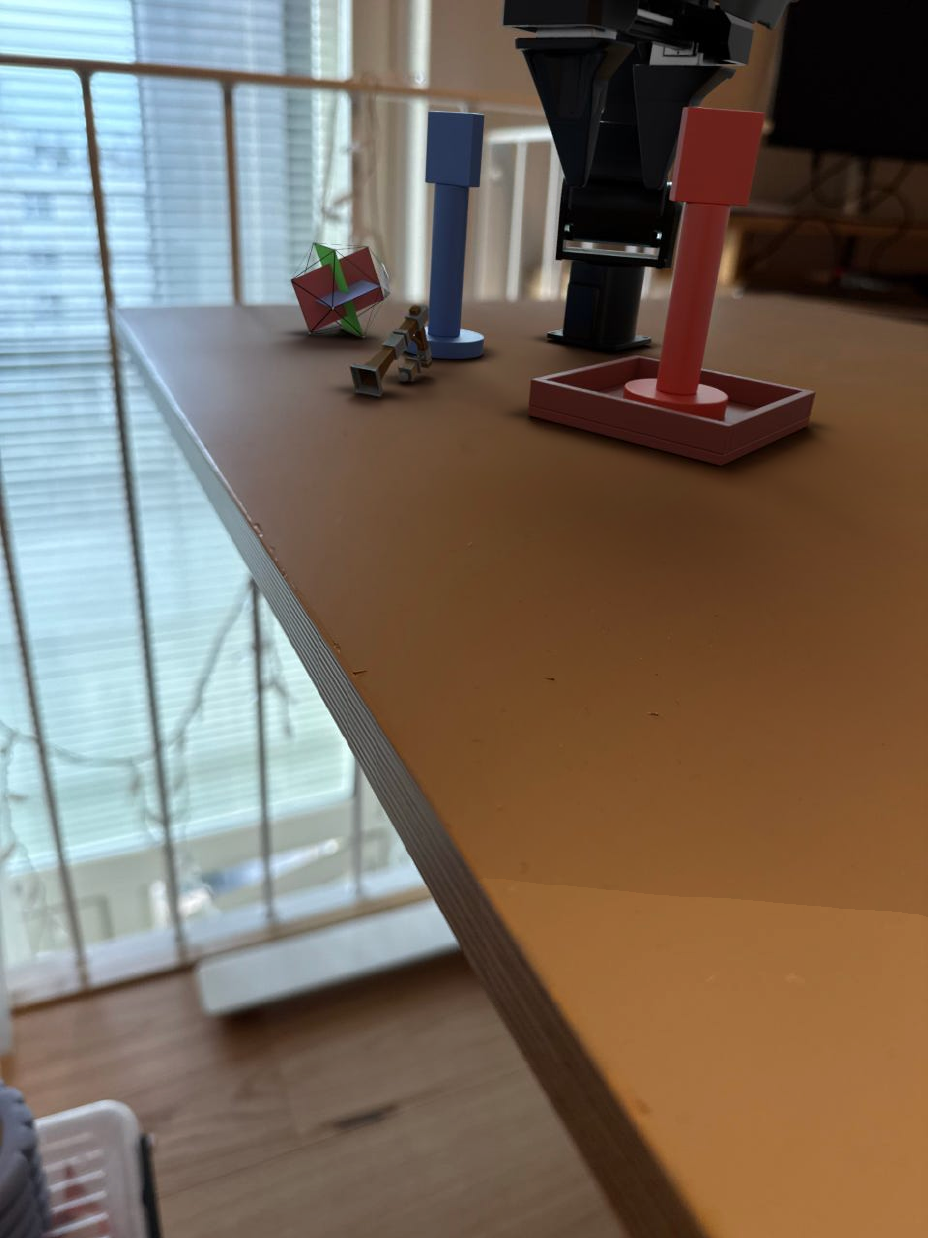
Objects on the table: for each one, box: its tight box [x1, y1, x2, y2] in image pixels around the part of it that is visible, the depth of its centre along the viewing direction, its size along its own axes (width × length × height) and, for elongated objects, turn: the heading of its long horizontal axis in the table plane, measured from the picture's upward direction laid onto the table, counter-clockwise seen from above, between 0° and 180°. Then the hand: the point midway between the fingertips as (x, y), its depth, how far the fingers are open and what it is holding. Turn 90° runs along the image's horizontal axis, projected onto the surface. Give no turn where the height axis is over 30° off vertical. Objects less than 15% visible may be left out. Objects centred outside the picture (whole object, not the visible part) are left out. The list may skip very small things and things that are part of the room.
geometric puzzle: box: [289, 241, 391, 338], centre depth 71 cm, size 7×7×8 cm
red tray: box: [527, 354, 817, 467], centre depth 54 cm, size 12×12×2 cm
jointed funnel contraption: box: [348, 303, 433, 397], centre depth 58 cm, size 2×8×4 cm, turn 153°
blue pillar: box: [404, 110, 485, 360], centre depth 65 cm, size 6×6×16 cm
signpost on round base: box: [623, 106, 766, 421], centre depth 51 cm, size 6×6×16 cm
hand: (617, 187), depth 57 cm, fingers open, 9 cm apart
